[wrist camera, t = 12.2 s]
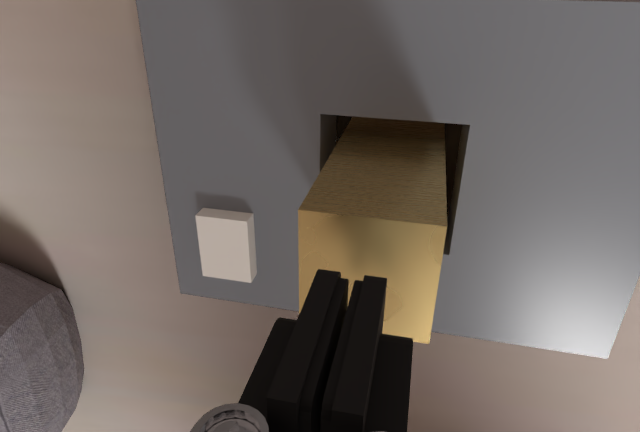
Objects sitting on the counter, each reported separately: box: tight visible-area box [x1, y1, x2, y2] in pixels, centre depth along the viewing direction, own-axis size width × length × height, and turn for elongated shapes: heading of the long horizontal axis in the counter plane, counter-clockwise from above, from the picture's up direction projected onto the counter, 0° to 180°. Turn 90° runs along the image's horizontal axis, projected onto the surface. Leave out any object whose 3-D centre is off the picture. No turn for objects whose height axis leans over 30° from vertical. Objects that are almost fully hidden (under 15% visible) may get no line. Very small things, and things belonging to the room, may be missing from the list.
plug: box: [298, 116, 447, 344], centre depth 18 cm, size 4×4×10 cm
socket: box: [136, 0, 640, 359], centre depth 20 cm, size 20×14×4 cm
